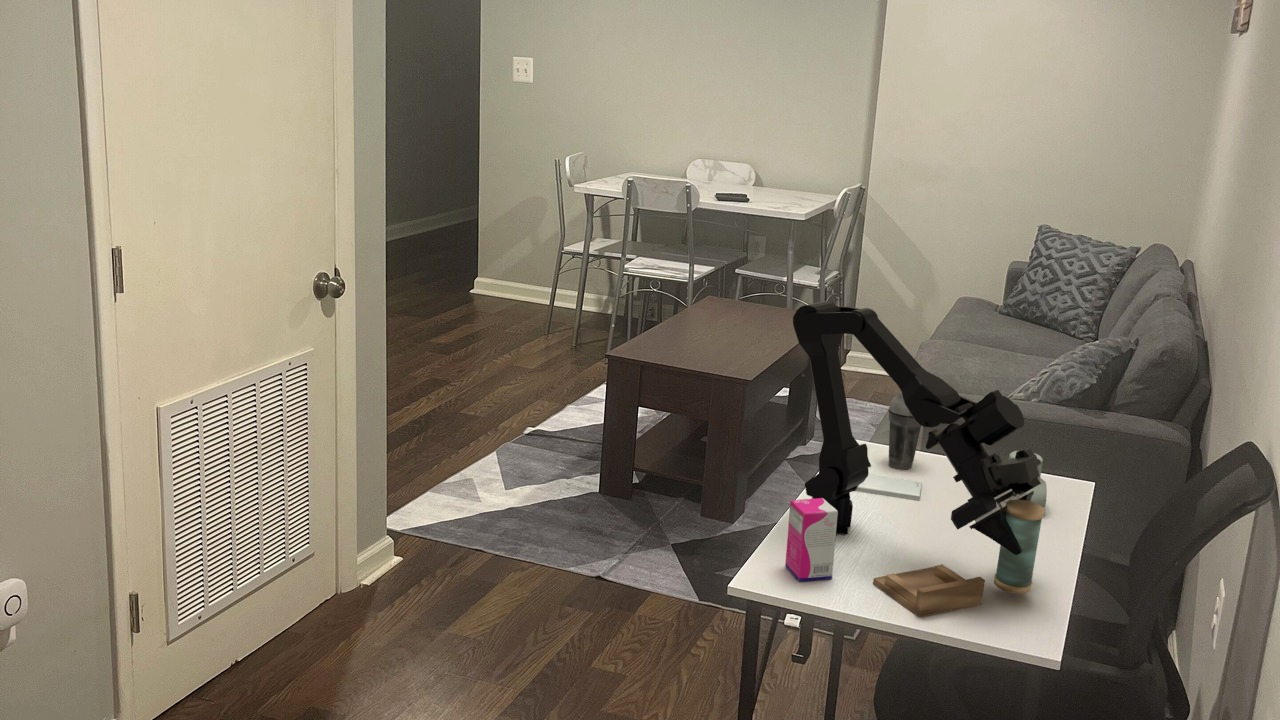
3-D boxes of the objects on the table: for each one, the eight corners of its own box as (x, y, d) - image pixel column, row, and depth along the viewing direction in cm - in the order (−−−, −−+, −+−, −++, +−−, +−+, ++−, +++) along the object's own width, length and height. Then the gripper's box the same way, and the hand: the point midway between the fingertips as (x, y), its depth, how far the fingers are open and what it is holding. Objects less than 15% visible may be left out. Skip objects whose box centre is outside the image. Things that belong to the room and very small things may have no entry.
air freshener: (1044, 520, 200) (1052, 469, 197) (996, 514, 202) (1004, 462, 199) (1039, 499, 210) (1047, 449, 207) (994, 492, 212) (1001, 443, 209)
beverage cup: (874, 464, 223) (885, 369, 218) (894, 457, 228) (906, 363, 223) (905, 475, 218) (917, 378, 213) (925, 467, 223) (937, 372, 218)
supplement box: (817, 563, 178) (824, 496, 175) (832, 579, 172) (840, 511, 169) (783, 565, 176) (789, 498, 173) (798, 582, 171) (804, 513, 168)
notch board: (872, 583, 172) (875, 560, 171) (933, 572, 177) (936, 549, 176) (919, 617, 162) (922, 592, 161) (981, 604, 167) (985, 580, 166)
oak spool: (997, 591, 168) (1010, 512, 164) (990, 575, 173) (1002, 498, 169) (1034, 595, 167) (1048, 515, 163) (1026, 578, 172) (1039, 501, 169)
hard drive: (922, 480, 213) (857, 470, 216) (920, 495, 206) (852, 484, 209) (921, 489, 214) (856, 478, 217) (918, 504, 206) (851, 493, 209)
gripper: (981, 447, 160) (1042, 543, 155) (1037, 422, 173) (1095, 510, 169) (925, 482, 167) (982, 574, 163) (983, 455, 180) (1038, 540, 176)
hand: (1027, 548), depth 167 cm, fingers closed on oak spool, 5 cm apart
